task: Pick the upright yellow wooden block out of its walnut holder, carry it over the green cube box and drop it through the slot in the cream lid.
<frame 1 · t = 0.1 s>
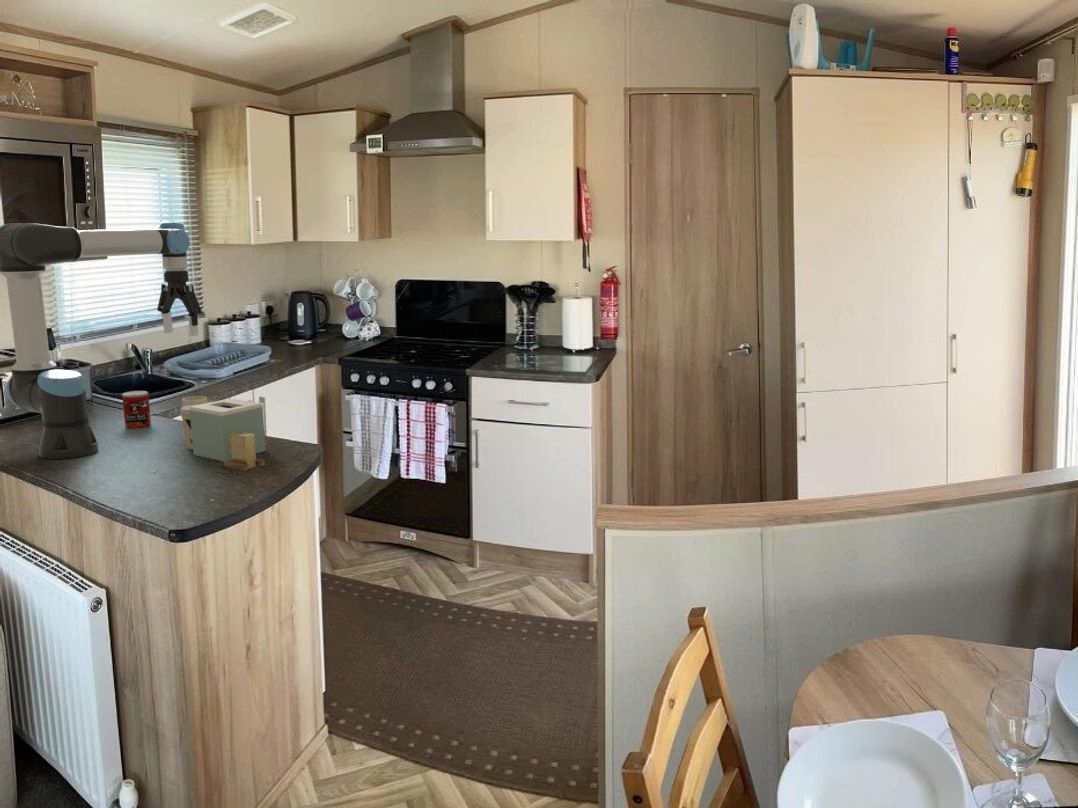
hand: (181, 334, 305), 28 cm above the worktop, tool pointing down, fingers open, 13 cm apart
canned food: (138, 426, 296), on the worktop
holder: (244, 465, 249), on the worktop
green cube box: (229, 452, 262), on the worktop
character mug: (197, 441, 277), on the worktop
yellow wooden block: (244, 466, 249), on the worktop
coffee cup: (201, 447, 270), on the worktop
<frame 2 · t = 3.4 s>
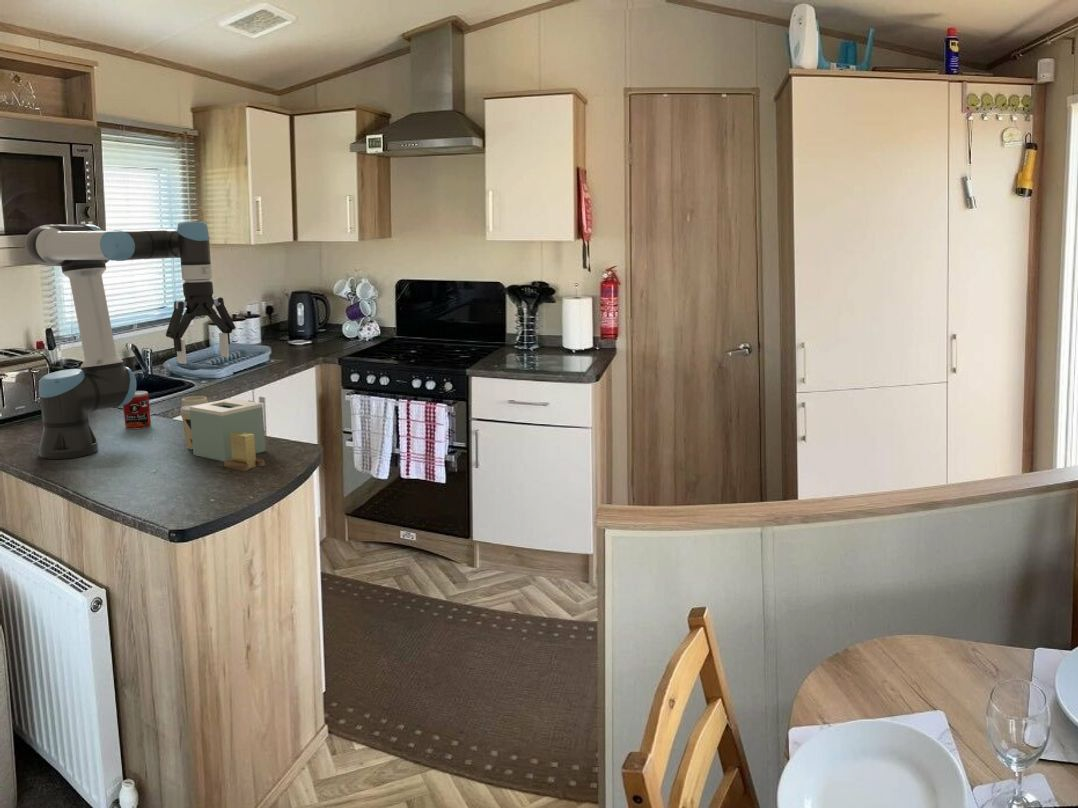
hand: (204, 360, 247), 28 cm above the worktop, tool pointing down, fingers open, 13 cm apart
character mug: (197, 441, 277), on the worktop, touching coffee cup
coffee cup: (201, 447, 270), on the worktop, touching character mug
everything else where it was.
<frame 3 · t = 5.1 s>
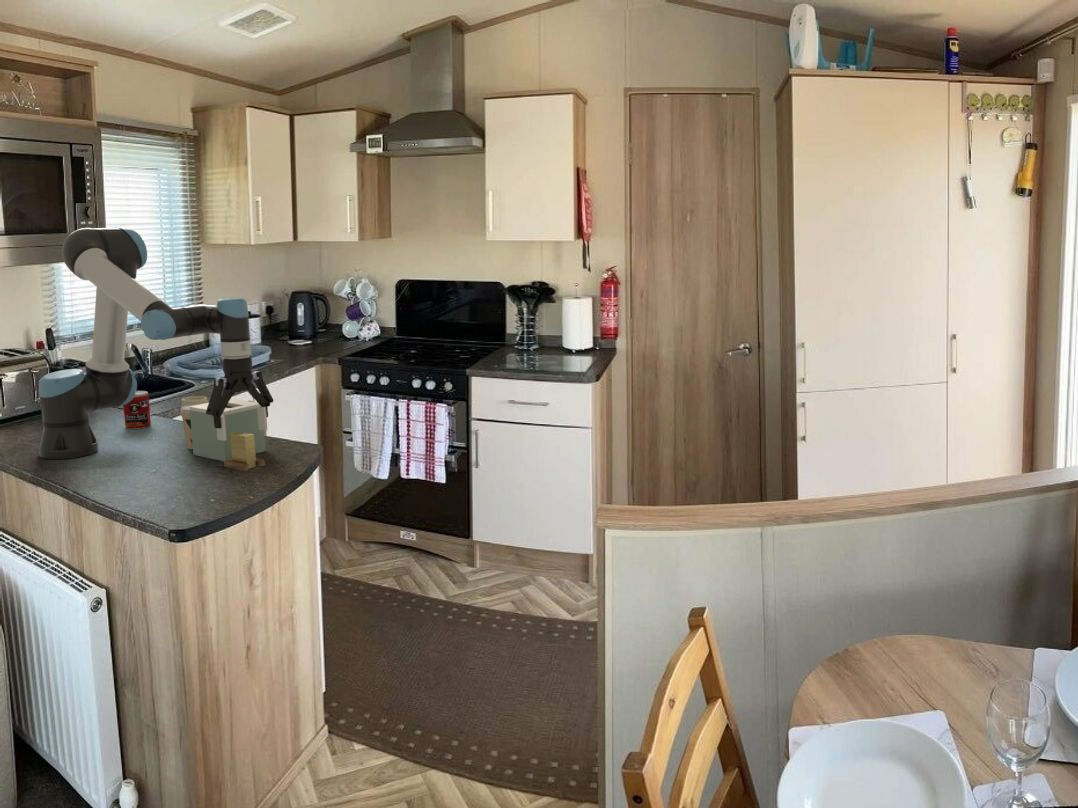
hand: (243, 434, 247), 9 cm above the worktop, tool pointing down, fingers open, 13 cm apart
nothing on the worktop moved.
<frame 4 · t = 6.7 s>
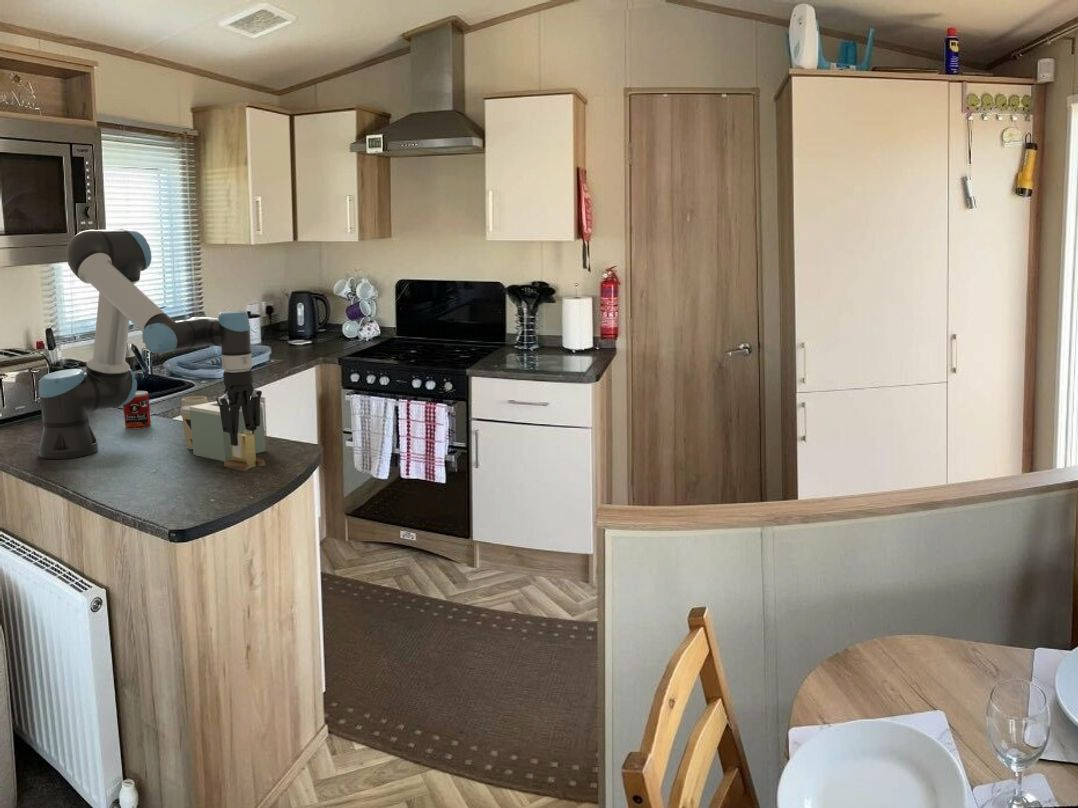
hand: (243, 454, 248), 3 cm above the worktop, tool pointing down, fingers closed on yellow wooden block, 3 cm apart
yellow wooden block: (244, 466, 249), on the worktop, touching gripper
everything else where it was.
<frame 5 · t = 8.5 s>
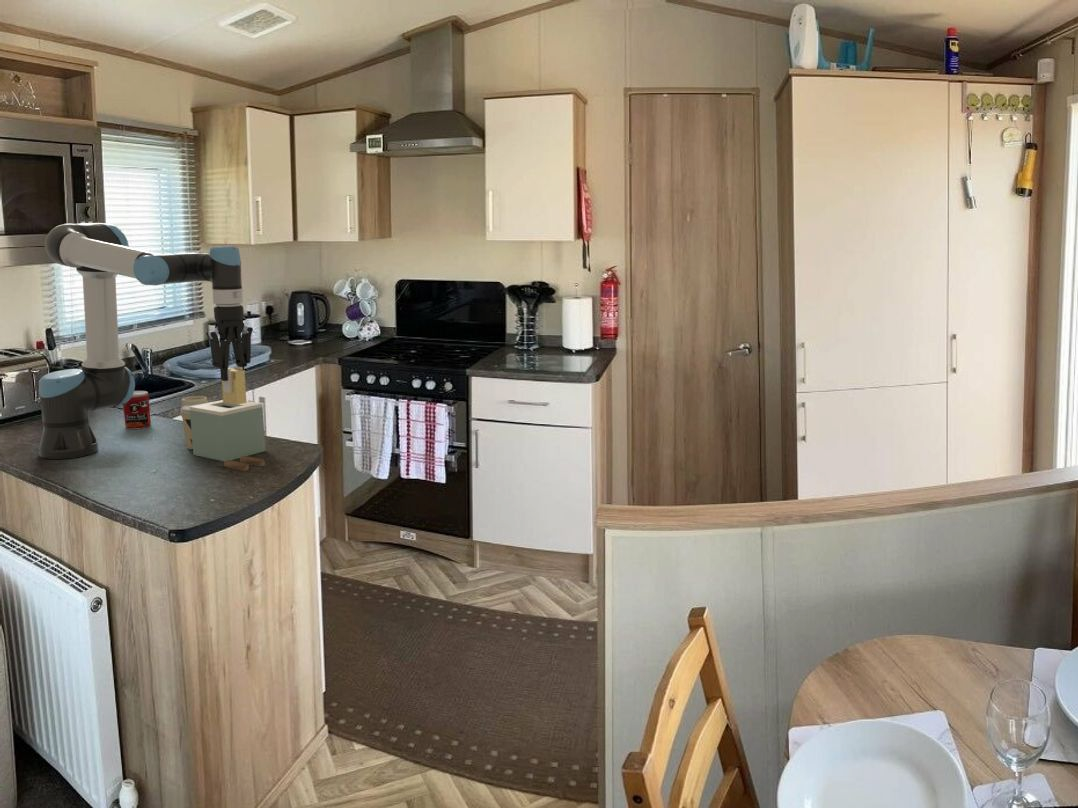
hand: (233, 391, 249), 20 cm above the worktop, tool pointing down, fingers closed on yellow wooden block, 3 cm apart
yellow wooden block: (234, 402, 249), point 17 cm above the worktop, touching gripper
everything else where it was.
when the fingers open (16 cm above the worktop, at t = 10.6 s): yellow wooden block drops 11 cm, resting on green cube box.
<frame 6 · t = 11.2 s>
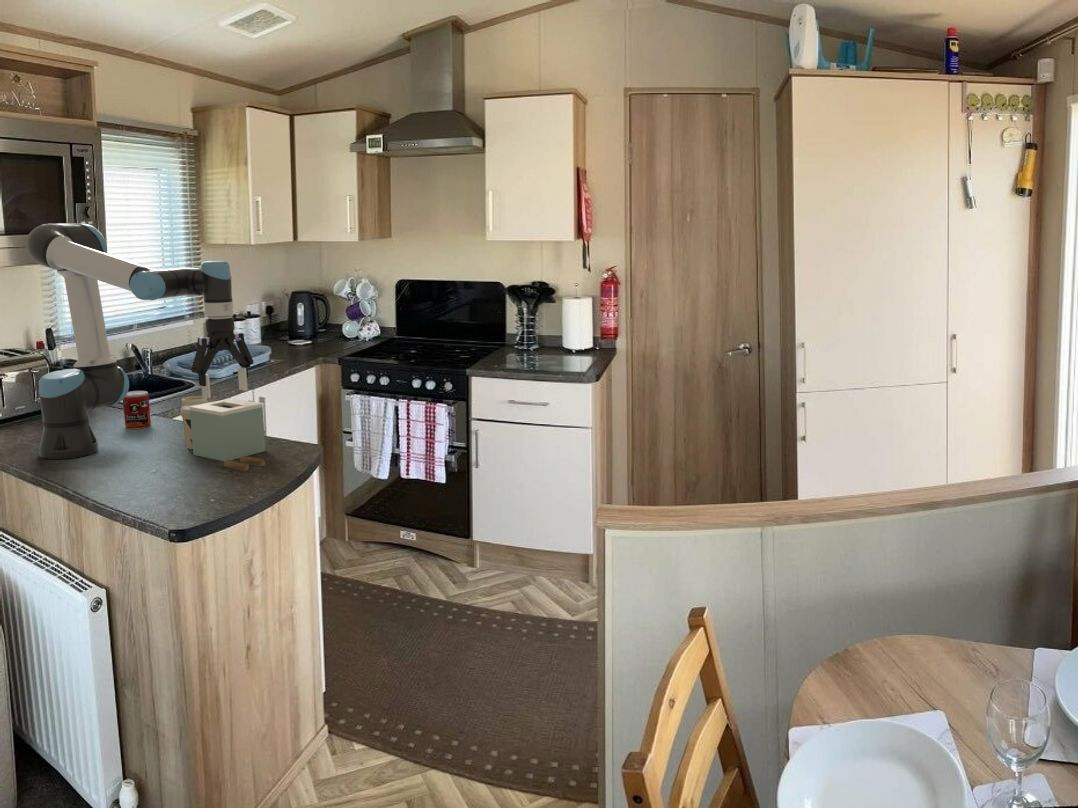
hand: (225, 393, 259), 17 cm above the worktop, tool pointing down, fingers open, 12 cm apart
yellow wooden block: (228, 447, 262), point 2 cm above the worktop, tilted 29°, touching green cube box
everything else where it was.
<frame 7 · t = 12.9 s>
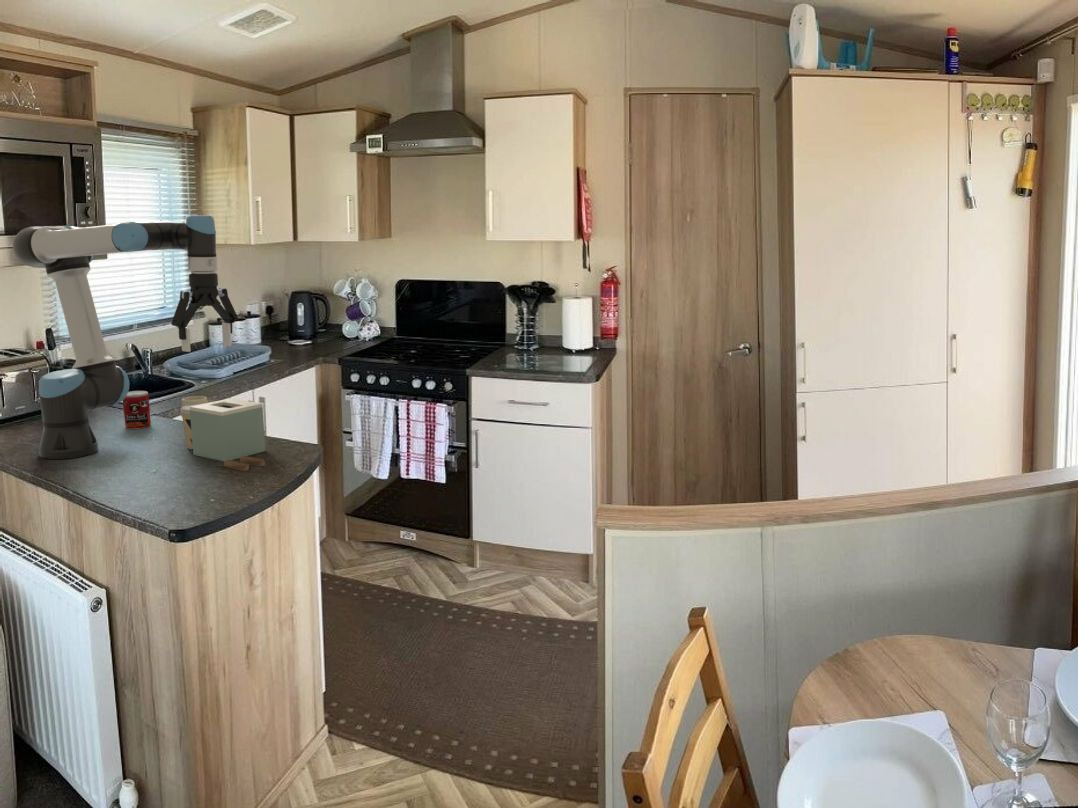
hand: (207, 348, 257), 30 cm above the worktop, tool pointing down, fingers open, 13 cm apart
nothing on the worktop moved.
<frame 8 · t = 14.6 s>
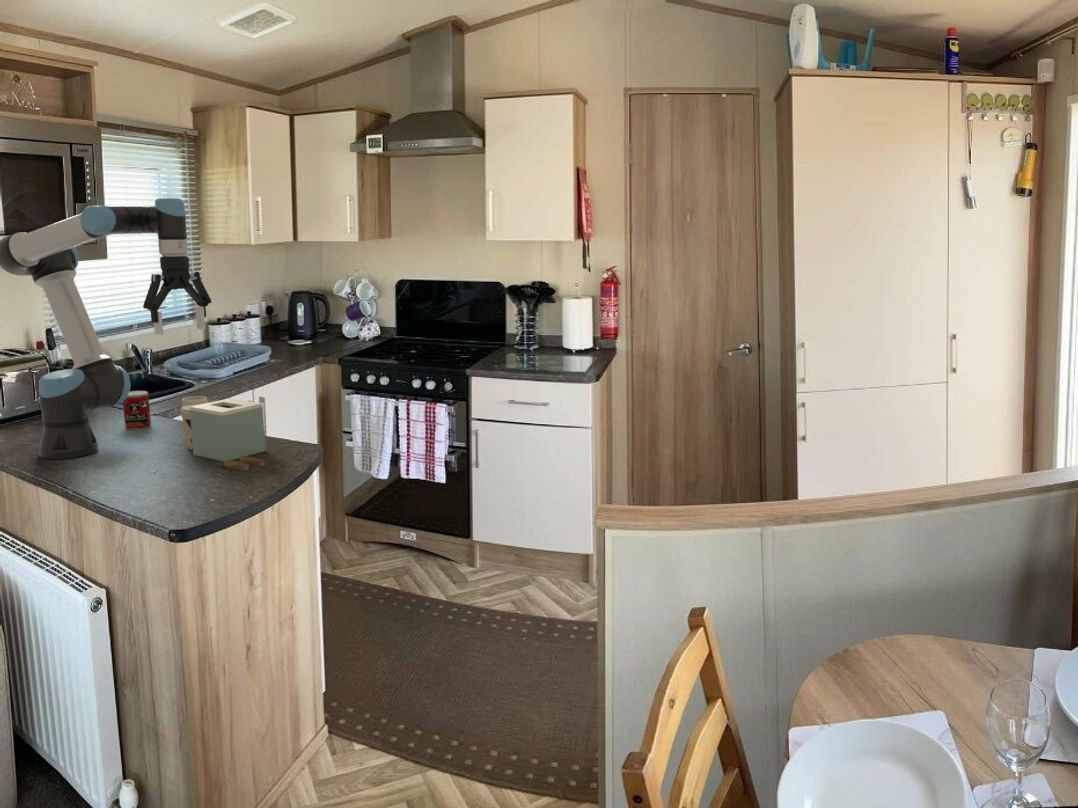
hand: (180, 331, 257), 35 cm above the worktop, tool pointing down, fingers open, 13 cm apart
nothing on the worktop moved.
at the end: yellow wooden block inside the target area on the green cube box (0.3 cm from its centre), point 1.5 cm above the green cube box's base; the gripper is holding nothing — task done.
